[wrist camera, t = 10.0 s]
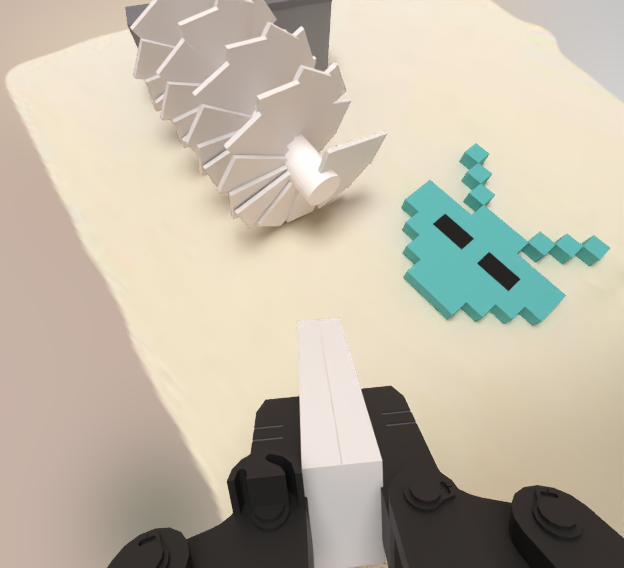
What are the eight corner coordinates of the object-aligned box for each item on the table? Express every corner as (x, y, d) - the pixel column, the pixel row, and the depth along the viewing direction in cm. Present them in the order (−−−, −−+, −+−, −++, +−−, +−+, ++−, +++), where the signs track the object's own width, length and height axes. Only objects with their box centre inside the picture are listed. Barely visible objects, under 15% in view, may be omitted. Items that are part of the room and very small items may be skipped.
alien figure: (468, 155, 50) (362, 240, 45) (475, 143, 48) (365, 230, 43) (596, 256, 45) (492, 366, 39) (610, 248, 42) (502, 362, 37)
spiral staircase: (289, 260, 47) (190, 130, 53) (398, 164, 44) (278, 37, 50) (209, 232, 30) (74, 44, 36) (378, 71, 27) (199, -108, 33)
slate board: (321, 60, 55) (324, -22, 45) (327, 74, 54) (332, -6, 44) (159, 87, 53) (125, 7, 43) (162, 104, 52) (127, 25, 41)
